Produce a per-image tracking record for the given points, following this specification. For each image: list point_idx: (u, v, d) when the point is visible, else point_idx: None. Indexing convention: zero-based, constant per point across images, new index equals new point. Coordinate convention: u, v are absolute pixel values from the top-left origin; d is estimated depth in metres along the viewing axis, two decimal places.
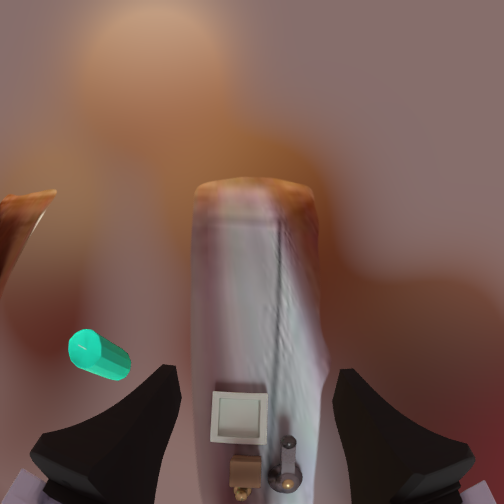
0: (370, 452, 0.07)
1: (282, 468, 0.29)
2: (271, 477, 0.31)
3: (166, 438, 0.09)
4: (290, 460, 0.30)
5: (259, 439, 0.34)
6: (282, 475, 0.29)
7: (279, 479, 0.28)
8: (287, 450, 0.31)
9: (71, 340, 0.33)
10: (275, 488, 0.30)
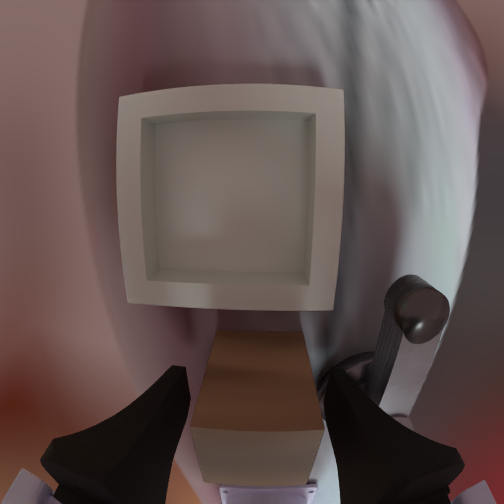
0: (358, 454, 0.07)
1: (380, 405, 0.09)
2: None
3: (176, 440, 0.09)
4: (412, 380, 0.09)
5: (308, 290, 0.10)
6: None
7: None
8: (415, 349, 0.08)
9: None
10: None
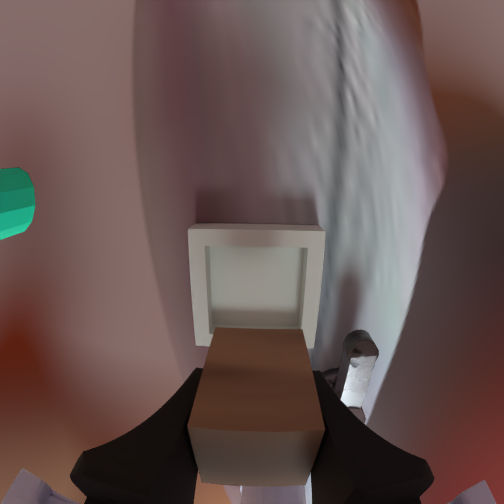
0: (325, 458, 0.07)
1: None
2: None
3: None
4: (359, 388, 0.17)
5: None
6: None
7: None
8: (358, 371, 0.16)
9: None
10: None
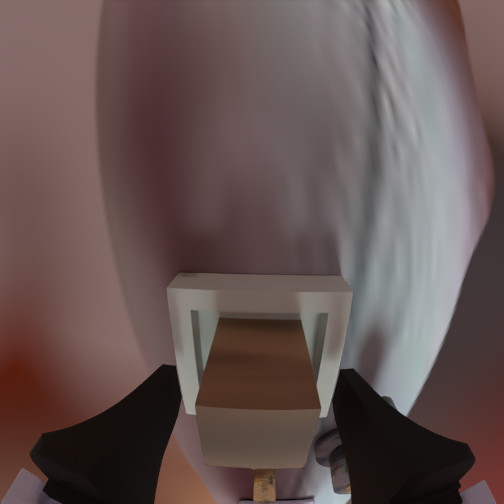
0: (370, 452, 0.07)
1: None
2: (322, 452, 0.16)
3: (166, 438, 0.09)
4: None
5: None
6: None
7: (343, 483, 0.13)
8: None
9: None
10: (326, 463, 0.17)
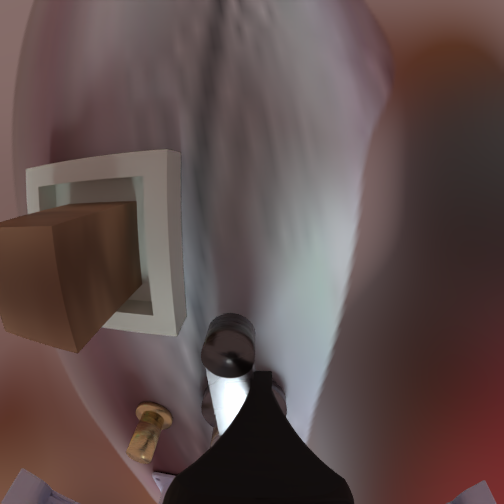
0: None
1: (220, 423, 0.11)
2: (207, 407, 0.15)
3: None
4: (240, 407, 0.11)
5: (154, 319, 0.12)
6: None
7: None
8: (227, 382, 0.10)
9: None
10: None
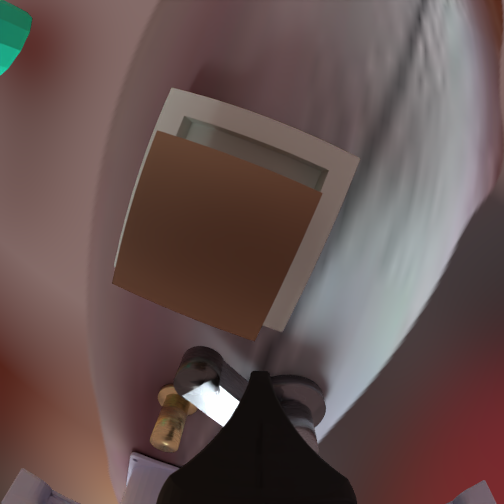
0: None
1: None
2: None
3: None
4: None
5: None
6: None
7: None
8: (214, 405, 0.11)
9: None
10: None
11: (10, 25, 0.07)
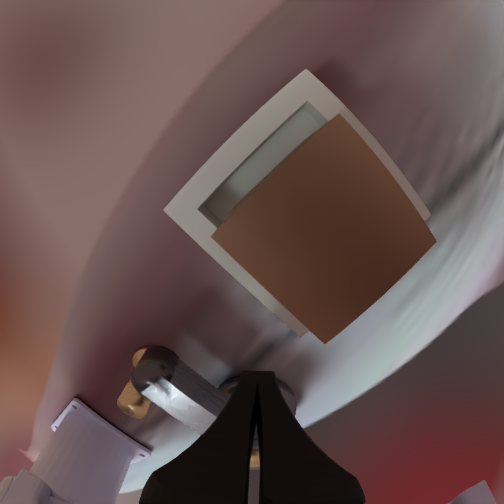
0: (261, 461, 0.07)
1: None
2: (231, 394, 0.14)
3: (251, 447, 0.09)
4: (201, 417, 0.11)
5: None
6: None
7: None
8: (170, 402, 0.11)
9: None
10: None
11: None
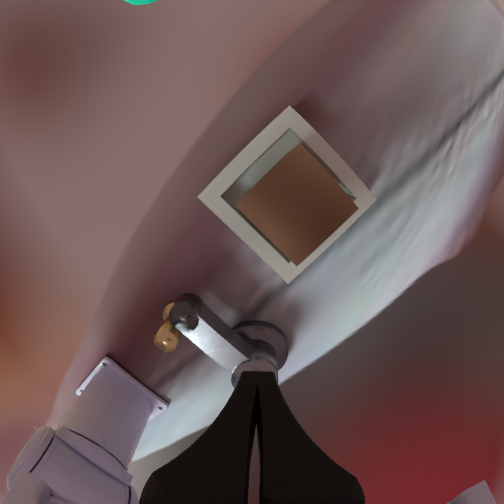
0: (261, 461, 0.07)
1: (221, 363, 0.18)
2: None
3: (251, 447, 0.09)
4: (218, 344, 0.18)
5: (286, 265, 0.18)
6: (232, 374, 0.18)
7: (234, 383, 0.18)
8: (196, 332, 0.17)
9: None
10: None
11: None
